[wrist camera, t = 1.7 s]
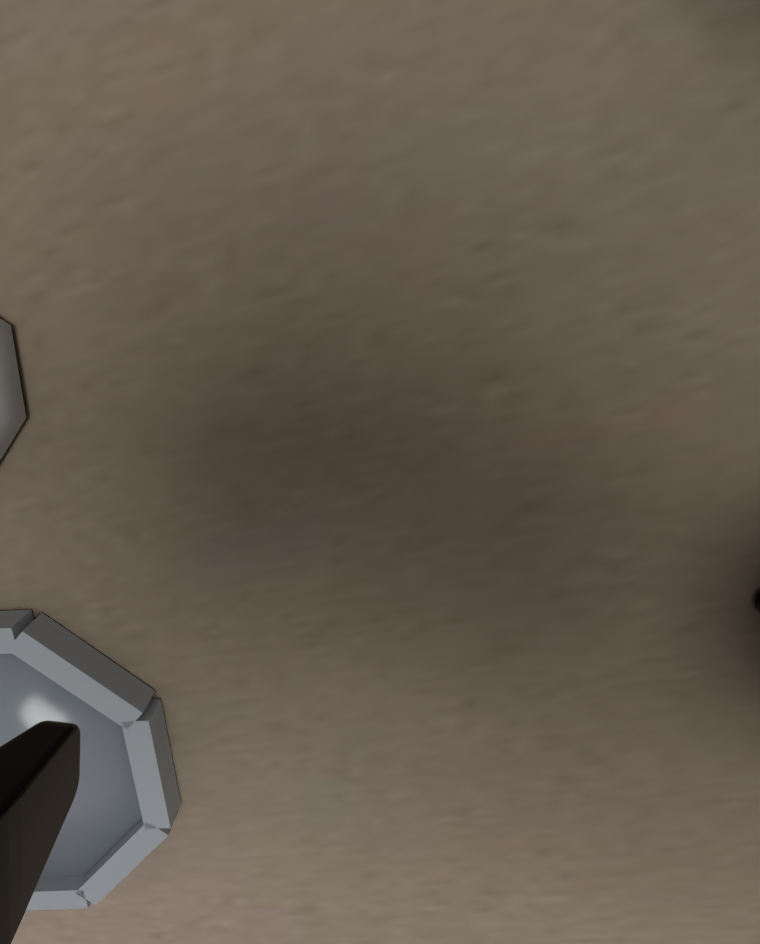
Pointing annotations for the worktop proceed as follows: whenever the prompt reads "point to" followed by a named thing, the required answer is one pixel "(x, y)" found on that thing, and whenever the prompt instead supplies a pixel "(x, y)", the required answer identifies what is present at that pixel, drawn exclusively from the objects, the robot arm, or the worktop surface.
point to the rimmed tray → (90, 756)
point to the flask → (9, 390)
